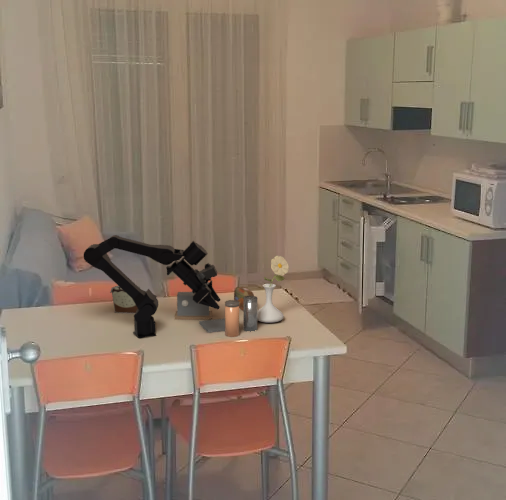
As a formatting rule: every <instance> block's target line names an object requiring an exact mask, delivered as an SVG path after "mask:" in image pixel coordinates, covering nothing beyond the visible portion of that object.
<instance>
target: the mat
mask: <svg viewBox="0 0 506 500" xmlns="http://www.w3.org/2000/svg"><path fill="white" fill-rule="evenodd" d="M198 324H199V325H200V327H202V328H203V329H204V330H205V331H206V333H208V334H209V333H216V332H217V333H218V332H225V317H223V318H216V319H204V320H199V321H198Z"/></svg>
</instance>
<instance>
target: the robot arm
mask: <svg viewBox="0 0 506 500" xmlns="http://www.w3.org/2000/svg"><path fill="white" fill-rule="evenodd" d="M114 249H117V250H121V251H125V252H129V253H132V254H135V255H141V256H145V257H147V258H150V259H151V260H152V261H155V262H156V263H159V264H160V265H164V266H166V275H167V276H169V275H170V274H171V273H173V274H174V275H175V276H177V278H179V279H180V280H181V281H182V282H183V283H182V284H183V285H184V286H187V287H188V288H189V289H190V290H191V292H193V293H194V294H193V301H195V302H196V303H198V304H203V305H206V306H209V308H212V309H215V310H219V309H220V308H221V306H220V304H218V303H219V302H220V301H221V300H222V299H221V298H220V296H219V295H218V293H217V291H216V290H215V289H214V287H213V280H212V278H216V276H218V271H217V268H216V266H215V265H214V264H211V263H210V262H207V263H205V264H204V268H202V269H201V270H199V269H195V268H193V266H197V265H199V263H201V261H202V260H204V258H206V257H207V255H208V252H207V250H206V249H205V248H204V247H203V246H202V245H201V244H199V243H197V242H196V241H195V240H192V241H191V242H190V244H189V245H188V246H187V247H186V248H185V249H178V248H175V247H173V246H172V245H170V244H169V245H167V244H150V243H146V242H141V241H137V240H135V239H131V238H127V237H122V236H119V235H117V234H116V235H115V234H114V235H112V236H110V237H109V238H107V239H105V240H104V241H102V242H100V243H93V244H91V245H89V246H87V248H86V249H85V250H84V252H83V260H84V261H85V262H86V263H87V264H89V265H90V266H91V267H93V268H95V269H98V270H99V271H102V272H103V273H104V274H105V275H106V276H108V278H109V279H110V280H112V282H114V283H115V284H116V286H119V287H120V288H121V289H122V290H124V291H125V292H126V293H127V294H128V295H129V296H130V297H131V298H132V299H133V301H134V303H135V305H136V306H137V308H138V309H137V311H136V313H135V314H134V315H133V321H134V322H133V325H134V331H132V333H133V335H134V336H136V337H137V338H138V339H141V338H148V337H155V336H157V333H156V328H157V327H156V320H155V318H154V315H155V314H156V313H157V311H158V308H159V300H158V298H157V297H158V296H157V295H155V294H154V293H153V292H152V291H151V290H150V288H148V289H147V290H143V289H141V287H140V286H139V285H137V284H136V283H135V282H133V280H132V279H131V278H129V276H127V275H126V274H125V273H124V272H123V271H122V270H121V269H120V268H119V267H117V265H116V264H115V263H114V262H112V261H111V258H110V257H109V255H108V253H109V252H111V251H112V250H114ZM138 286H139V287H140V288H139V287H138Z"/></svg>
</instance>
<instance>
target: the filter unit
mask: <svg viewBox="0 0 506 500" xmlns="http://www.w3.org/2000/svg"><path fill="white" fill-rule="evenodd" d="M193 294H194V293H193V292H192V291H178V292H177V295H176V306H177V307H176V308H177V309H176V311H175V314H174V321H175V320H213V319H212V318H213V317H212V316H213V310H210V307H209V306H206V305H203V304H198V303H196V302H195V301H193Z"/></svg>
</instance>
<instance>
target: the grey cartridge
mask: <svg viewBox="0 0 506 500" xmlns="http://www.w3.org/2000/svg"><path fill="white" fill-rule="evenodd" d="M257 311H258V296H255V295H254V296H245V297H244V311H243V316H242V317H243V326H242V329H243V331H244V332H247V331H250V332H249V333H252V332H251V331H254V332H256V331H255V330H257V331H258V320H257Z"/></svg>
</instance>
